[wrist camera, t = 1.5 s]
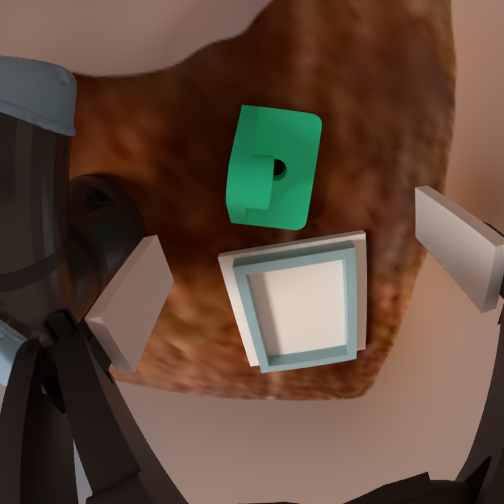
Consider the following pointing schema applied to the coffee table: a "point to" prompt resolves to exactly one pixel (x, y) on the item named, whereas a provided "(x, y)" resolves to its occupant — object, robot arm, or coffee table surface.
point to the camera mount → (272, 167)
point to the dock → (300, 300)
